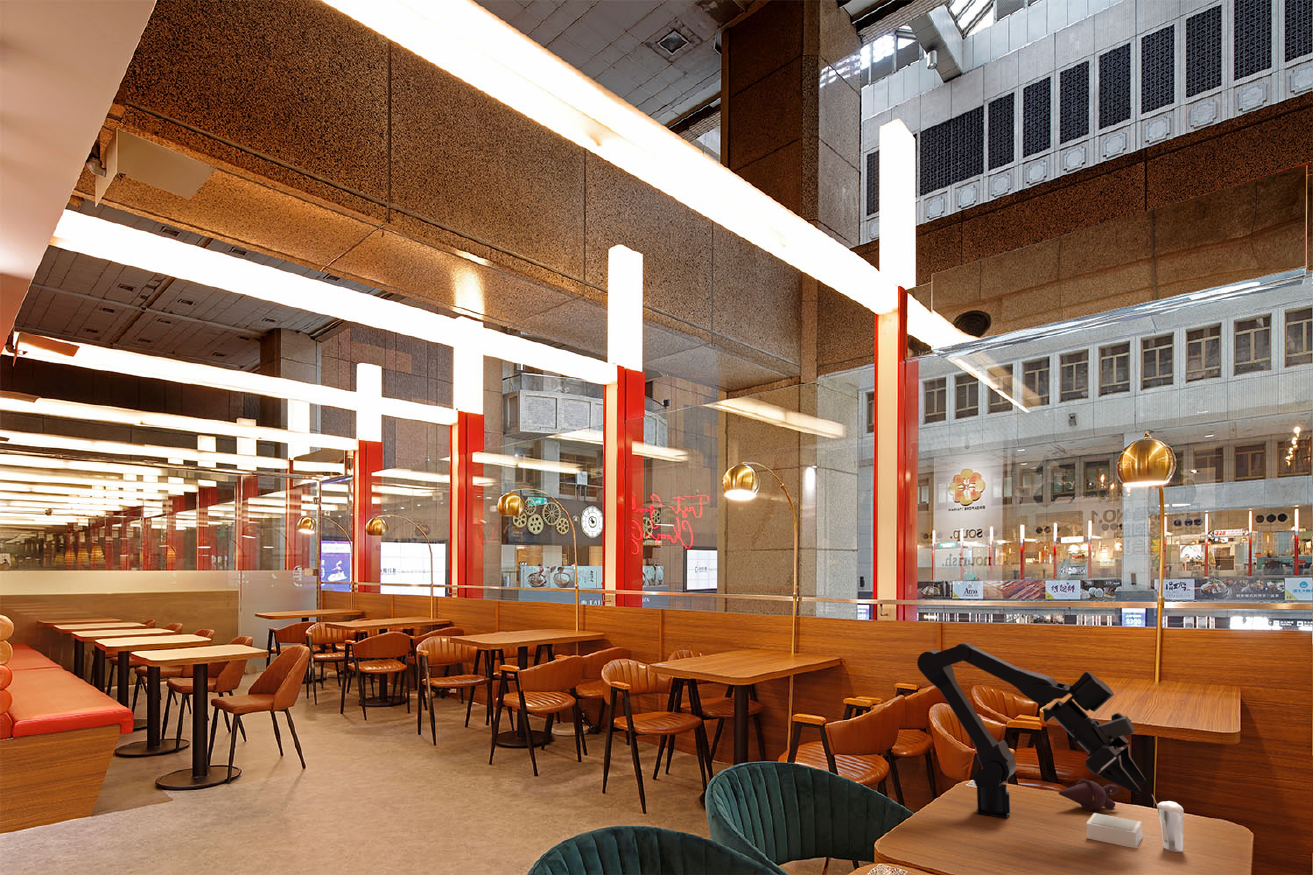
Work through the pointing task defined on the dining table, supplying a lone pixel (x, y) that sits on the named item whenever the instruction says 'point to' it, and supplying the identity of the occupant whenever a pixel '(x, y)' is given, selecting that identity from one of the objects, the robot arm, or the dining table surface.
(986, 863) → the dining table surface
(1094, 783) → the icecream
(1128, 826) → the tile base
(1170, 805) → the milkshake
